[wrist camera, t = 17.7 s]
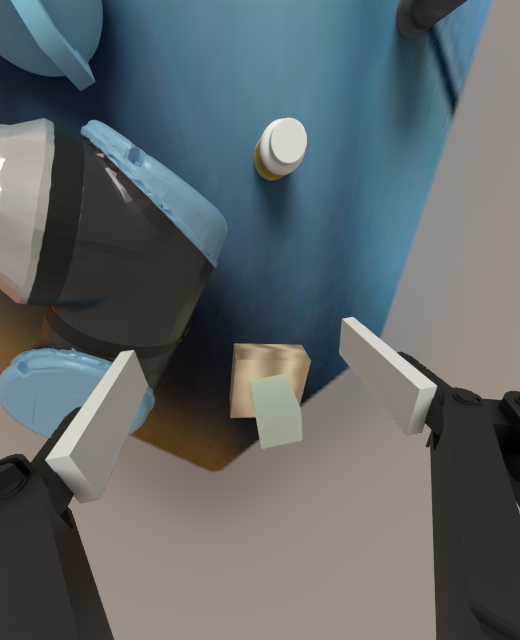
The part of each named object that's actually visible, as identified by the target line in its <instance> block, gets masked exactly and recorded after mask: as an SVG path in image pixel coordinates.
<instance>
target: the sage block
mask: <svg viewBox="0 0 520 640" xmlns="http://www.w3.org/2000/svg"><path fill="white" fill-rule="evenodd" d="M250 384H251V390H252V396H253V402H254V408H255V414H256V420H257V426H258V433H259V439H260V445H261V449H265V448H270V447H275V446H279V445H284V444H288V443H293V442H298V441H302V418H301V409H300V406H299V404H298V401H297V399H296V396H295V394H294V391H293V389H292V386H291V384H290V381H289V379H288V376H287V374H281V375H276V376H270V377H265V378H260V379H254V380H250Z"/></svg>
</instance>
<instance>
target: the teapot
mask: <svg viewBox="0 0 520 640" xmlns="http://www.w3.org/2000/svg"><path fill="white" fill-rule="evenodd" d="M102 23H103V10H102V0H0V56H2V57H3V58H5V59H6V60H8V61H9V62H11V63H12V64H14V65H16V66H18V67H20V68H22V69H24V70H26V71H29V72H31V73H35V74H38V75H43V76H51V77H56V76H65V75H66V76H67V77H68V79H69V80H70V81H71V82H72V83H73V84H74V85H75V86H76V87H77V88H78V89H79V90H80V91H82V90H84V89H85V88H87V87H88V86H90V85H92V84H93V83H95V79H94V77H93V74H92V72H91V69H90V66H89V64H88V62H89V61H90V59H91V58H92V56H93V55H94V53H95V51H96V49H97V47H98V44H99V41H100V38H101V32H102Z"/></svg>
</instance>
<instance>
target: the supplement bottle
mask: <svg viewBox="0 0 520 640" xmlns="http://www.w3.org/2000/svg"><path fill="white" fill-rule="evenodd" d="M306 145H307V136H306V132H305V129H304V127H303V126H302V124H301V123H300V122H299V121H297V120H296V119H293V118H286V119H278V120H276V121H274V122H272V123H271V124H270V125H269V126H268V127H267V128H266V129H265V131H264V133H263V134H262V136H261V138H260V140H259V141H258V143H257V145H256V147H255V150H254V156H253V159H254V165H255V168H256V170H257V172H258V173H259V175H260V176H261V177H263V178H264V179H266V180H271V181H273V180H277V179H280V178H282V177H283V176H285V175H287V174H289V173H291V172H292V171H294V170H295V169H296V168H297V167H298V166H299V164H300V163H301V161H302V159H303V156H304V152H305V149H306Z"/></svg>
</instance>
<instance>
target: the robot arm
mask: <svg viewBox="0 0 520 640" xmlns="http://www.w3.org/2000/svg"><path fill="white" fill-rule="evenodd" d="M81 134H82V135H83V138H81V137H78V136H76V135H74V134H73V133H71V132H69V131H67V130H65V129H64V128H62V127H60V126H58V125H56V124H54V123H53V122H52V121H49V120H47V119H45V118H42V119H38V120H33V121H28V122H23V123H18V124H14V125H3V124H0V289H1V290H2V291H3V292H4V293H6V294H7V295H8V296H9V297H10V298H12V299H13V300H14V301H15V302H16V303H21V304H29V305H40V306H46V310H45V314H44V319H43V323H42V327H41V332H40V336H39V338H38V340H37V342H36V343H35V345H34V346H33V347H32V348H31V349H30V350H29V351H25V352H23V353H21V354H19V355H18V356H16V357H15V358H14V359H13V360H12V361H11V365H10V366H8V367H7V368H6V369H5V370H4V371H3V373H2V374H1V376H0V403H1V405H2V407H3V408H4V409H5V411H6V412H7V413H8V414H9V415H10V416H11V417H12V418H13V419H14V420H15V421H17V422H19V423H21V424H22V425H24V426H25V427H27V428H28V429H29V430H31V431H33V432H35V433H38V434H40V435H43V436H45V437H49V439H48V440H47V442H46V443H45V444H44V446H43V447H42V448H41V450H40V451H39V452H38V454H37V455H36V456H35V458H34V459H33V460H32V462H31V463H30V462H29V461H28V460H27V459H26V457H25V456H24V455H23V454H14V455H10V456H7V457H5V458H3V459H1V460H0V640H114V638H113V635H112V632H111V629H110V626H109V623H108V620H107V617H106V614H105V611H104V608H103V605H102V602H101V599H100V596H99V593H98V590H97V587H96V584H95V581H94V578H93V575H92V572H91V569H90V565H89V562H88V560H87V556H86V553H85V550H84V547H83V544H82V541H81V538H80V535H79V532H78V529H77V526H76V523H75V520H74V517H73V514H72V511H71V510H70V509H69V507H68V505H69V503H70V501H71V499H72V497H73V495H74V497H75V498H76V499H77V500H78V501H79V503H85V502H90V501H95V500H99V499H101V497H102V495H103V492H104V490H105V487H106V485H107V483H108V480H109V478H110V476H111V473H112V471H113V468H114V466H115V463H116V461H117V459H118V456H119V454H120V451H121V449H122V447H123V444H124V442H125V439H126V437H127V436H128V435H130V434H132V433H133V432H135V431H136V430H137V429H138V428H140V427H141V426H142V424H143V423H144V422H145V420H146V418H147V416H148V414H149V412H150V411H151V410H152V409H153V407H154V405H155V395H156V393H157V390H158V387H159V385H160V382H161V380H162V377H163V375H164V373H165V371H166V368H167V366H168V364H169V362H170V360H171V358H172V355H173V353H174V351H175V349H176V347H177V344H179V343H180V342H181V341H182V340H183V339H184V338H185V336H186V335H187V333H188V332H189V330H190V327H191V324H192V320H193V315H194V309H195V307H196V304H197V302H198V300H199V298H200V296H201V294H202V291H203V289H204V287H205V285H206V283H207V281H208V278H209V276H210V274H211V272H212V270H213V268H216V267H217V259H218V256H219V254H220V252H221V249H222V247H223V244H224V242H225V239H226V237H227V224H226V221H225V219H224V217H223V215H222V214H221V213H220V211H219V210H218V209H217V208H216V207H215V206H214V205H213V204H211V203H210V202H209V201H208V200H207V199H205V198H204V197H203V196H202V195H201V194H200V193H198V192H197V191H196V190H195V189H193V188H192V187H191V186H190V185H188V184H187V183H186V182H185V181H183V180H182V179H181V178H179V177H178V176H177V175H175V174H174V173H173V172H172V171H170V170H169V169H168V168H166V167H165V166H164V165H162V164H161V163H159V162H158V161H157V160H155V159H154V158H152V157H150V156H148V155H147V154H146V153H145V152H144V151H142V150H141V149H140V148H138V147H137V146H135V145H134V144H132V143H131V142H130V141H129V140H128V139H127V138H125V137H124V136H122V135H121V134H119V133H118V132H116V131H115V130H113V129H112V128H110V127H109V126H107V125H106V124H104V123H102V122H100V121H97V120H91V121H89V122H88V124H87V125H86V126H83V127H82V129H81ZM339 354H340V355H341V356H342V358H343V359H344V360H345V361H346V362H347V364H348V365H349V366H350V367H351V369H352V370H353V371H354V372H355V373H356V375H357V376H358V377H359V378H360V380H361V381H362V382H363V383H364V384H365V386H366V387H367V388H368V389H369V391H370V392H371V393H372V394H373V396H374V397H375V398H376V399H377V400H378V402H379V403H380V404H381V405H382V406H383V408H384V409H385V410H386V411H387V413H388V414H389V415H390V416H391V418H392V419H393V420H394V421H395V422H396V424H397V425H398V426H399V427H400V429H401V430H402V431H403V432H404V433H405V435H412V434H417V433H421V432H422V430H423V427H424V424H425V423H426V424H427V425H428V426H429V427H430V429H431V433H430V436H429V439H428V442H427V444H426V447H429V446H430V453H431V482H432V483H431V484H432V514H433V546H434V577H435V606H436V640H520V514H519V510H518V507H517V504H518V505H519V507H520V392H518V391H509V392H506V393H505V395H504V397H503V399H502V400H492V399H482V398H481V397H480V396H478V395H477V394H475V393H473V392H471V391H469V390H466V389H462V388H452V387H451V386H449V385H448V384H447V383H445V382H444V381H443V380H442V379H440V378H439V377H438V376H436V375H435V374H434V373H432V372H431V371H430V370H429V369H426V367H425V366H423V365H422V364H420V363H419V362H418V361H417V360H416V359H414V358H413V357H412V356H409V355H407V354H405V353H403V352H397V353H396V352H395V351H394V350H393V349H391V348H390V347H389V346H388V345H386V344H385V343H384V342H383V341H382V340H380V339H379V338H378V337H377V336H376V335H374V334H373V333H372V332H371V331H369V330H368V329H367V328H366V327H365V326H363V325H362V324H361V323H360V322H358V321H357V320H356V319H355V318H354V317H350V318H344V319H342V325H341V338H340V350H339ZM516 502H517V503H516Z"/></svg>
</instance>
